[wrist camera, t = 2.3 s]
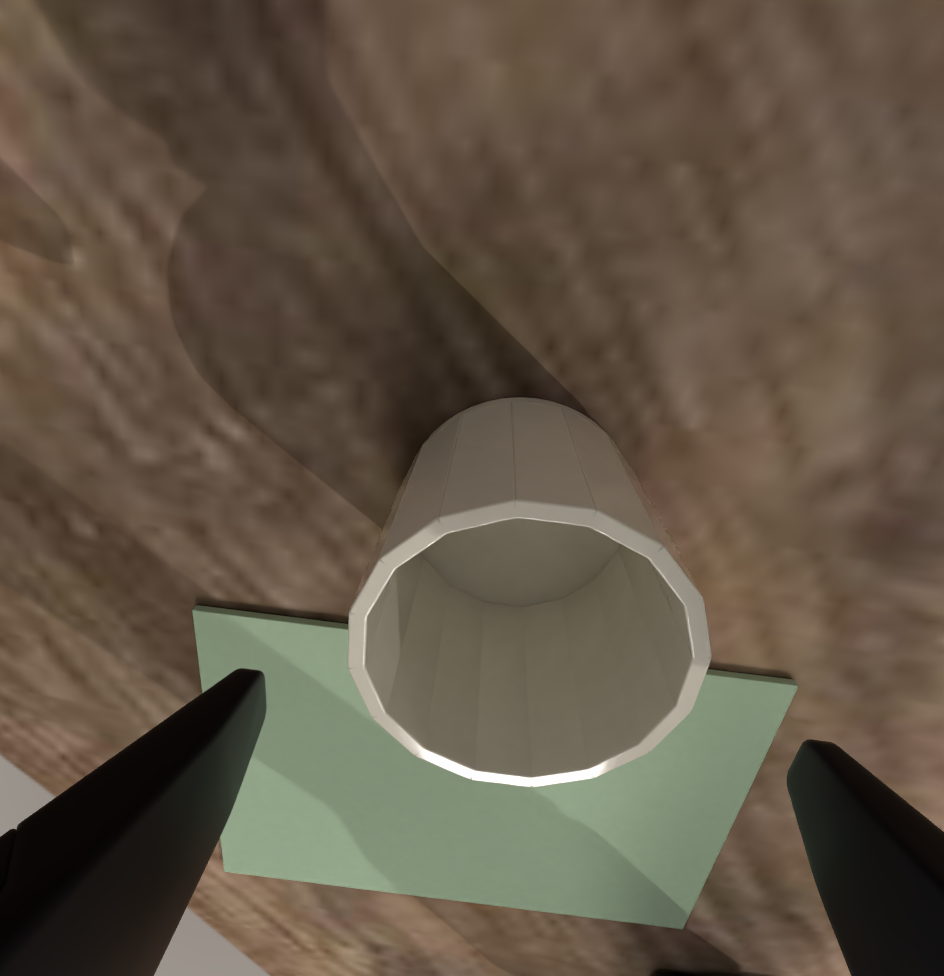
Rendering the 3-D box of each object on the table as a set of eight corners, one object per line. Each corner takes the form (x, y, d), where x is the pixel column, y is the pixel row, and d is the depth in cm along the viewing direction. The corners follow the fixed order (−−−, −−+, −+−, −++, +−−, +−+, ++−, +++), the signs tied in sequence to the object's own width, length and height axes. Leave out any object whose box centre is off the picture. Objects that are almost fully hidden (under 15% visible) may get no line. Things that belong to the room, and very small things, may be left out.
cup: (606, 614, 18) (657, 804, 12) (397, 588, 18) (344, 765, 12) (659, 413, 15) (761, 529, 9) (411, 382, 15) (351, 479, 9)
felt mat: (681, 921, 24) (682, 929, 24) (227, 864, 24) (224, 871, 24) (794, 679, 18) (799, 686, 18) (196, 604, 18) (191, 610, 18)
